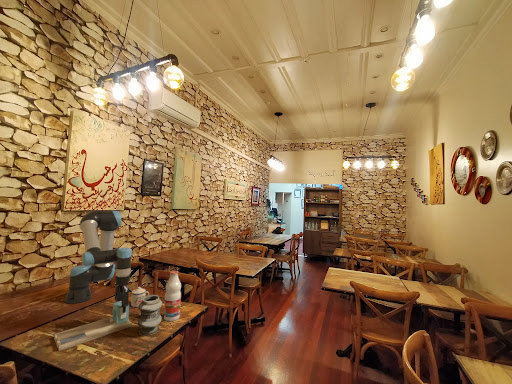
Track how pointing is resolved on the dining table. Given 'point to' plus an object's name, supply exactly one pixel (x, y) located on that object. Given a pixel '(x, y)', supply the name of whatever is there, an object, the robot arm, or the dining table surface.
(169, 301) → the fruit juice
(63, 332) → the board
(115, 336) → the dining table surface
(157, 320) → the apothecary jar
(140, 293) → the teacup with lid
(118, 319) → the bracket
